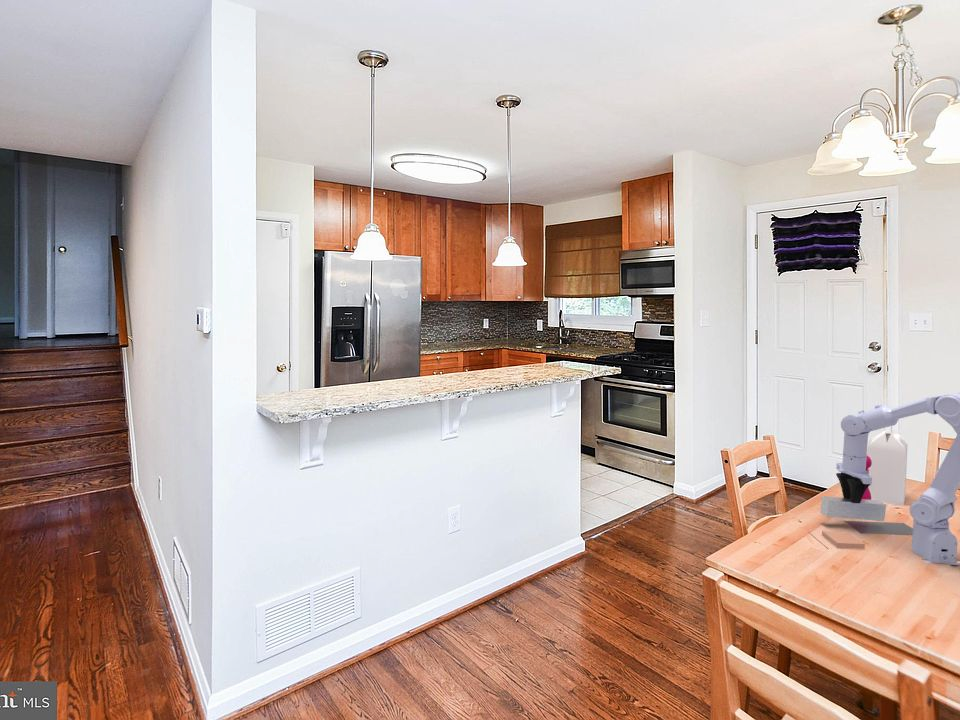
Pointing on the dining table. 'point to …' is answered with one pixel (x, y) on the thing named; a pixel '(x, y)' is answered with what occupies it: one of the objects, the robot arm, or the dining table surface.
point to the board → (881, 527)
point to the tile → (843, 540)
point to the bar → (853, 508)
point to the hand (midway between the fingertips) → (851, 500)
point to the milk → (888, 467)
